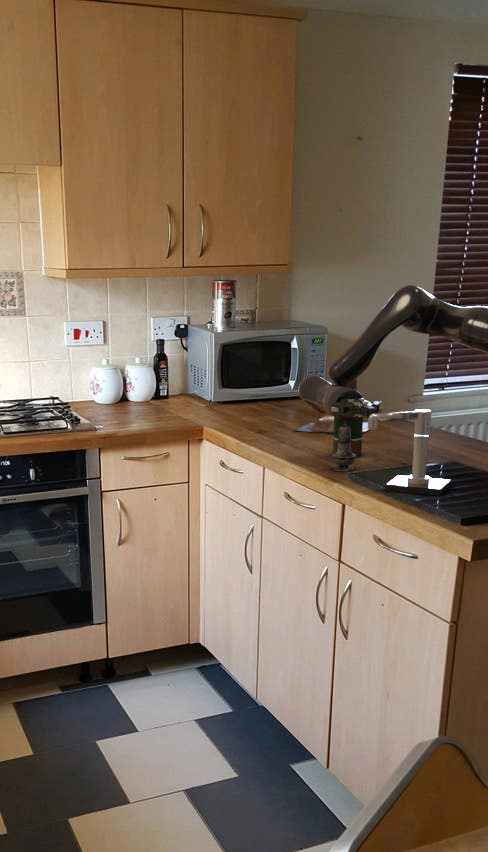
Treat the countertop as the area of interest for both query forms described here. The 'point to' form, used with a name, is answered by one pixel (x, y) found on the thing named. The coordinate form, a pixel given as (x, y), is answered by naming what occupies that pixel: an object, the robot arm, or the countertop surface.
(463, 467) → the countertop surface
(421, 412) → the spout
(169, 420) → the countertop surface
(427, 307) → the robot arm
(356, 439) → the beer bottle
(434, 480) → the faucet base
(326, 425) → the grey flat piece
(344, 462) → the grey figurine
